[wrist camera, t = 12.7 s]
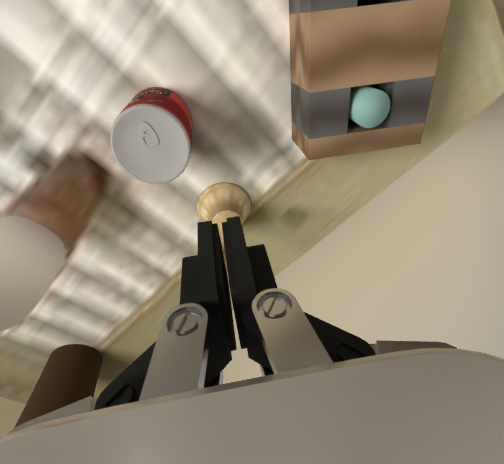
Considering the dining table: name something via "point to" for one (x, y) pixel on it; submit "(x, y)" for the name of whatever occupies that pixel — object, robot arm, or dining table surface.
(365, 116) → the teal peg
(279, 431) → the robot arm
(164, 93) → the canned food
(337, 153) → the socket block
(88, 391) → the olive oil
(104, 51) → the dining table surface
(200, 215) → the hand bell
